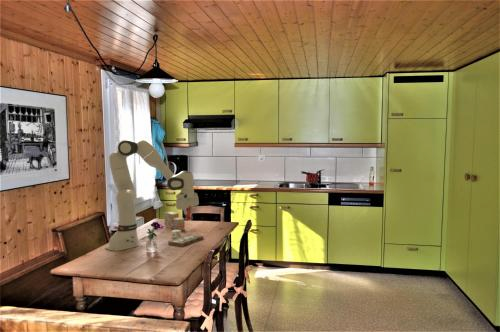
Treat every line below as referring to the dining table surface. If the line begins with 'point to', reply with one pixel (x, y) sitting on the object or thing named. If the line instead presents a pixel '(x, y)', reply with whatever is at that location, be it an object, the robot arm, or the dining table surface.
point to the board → (185, 240)
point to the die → (176, 234)
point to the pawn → (188, 216)
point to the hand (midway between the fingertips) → (188, 213)
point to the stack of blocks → (174, 221)
